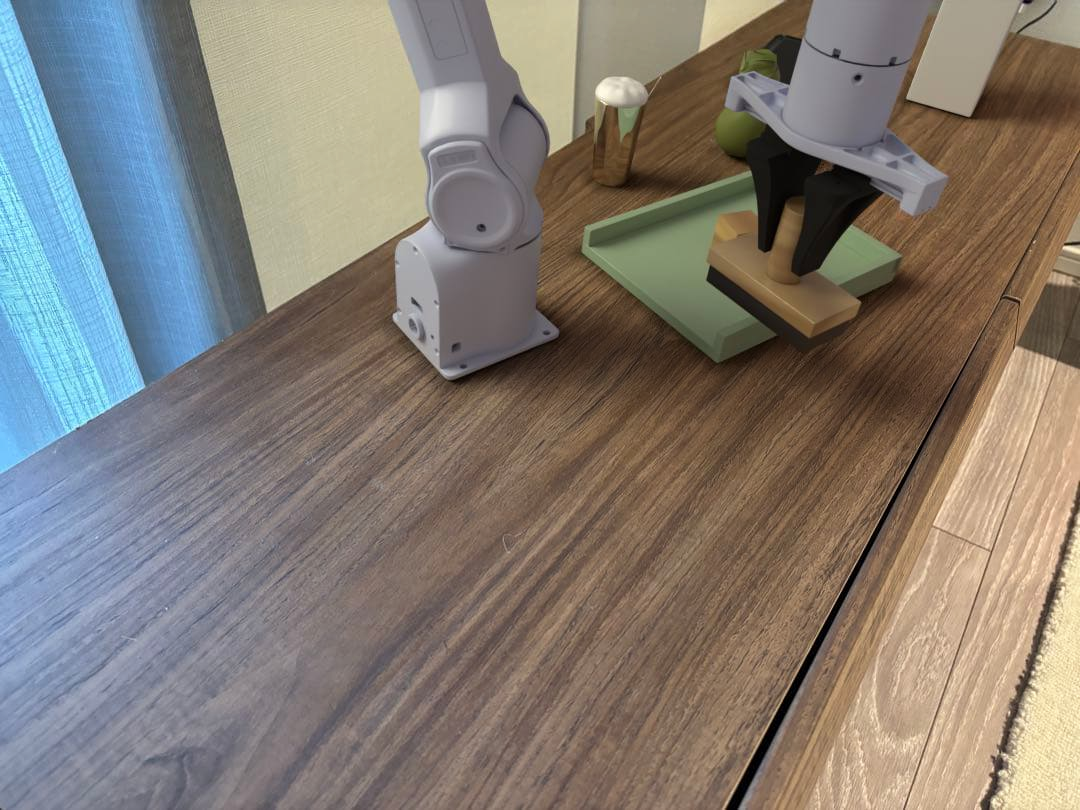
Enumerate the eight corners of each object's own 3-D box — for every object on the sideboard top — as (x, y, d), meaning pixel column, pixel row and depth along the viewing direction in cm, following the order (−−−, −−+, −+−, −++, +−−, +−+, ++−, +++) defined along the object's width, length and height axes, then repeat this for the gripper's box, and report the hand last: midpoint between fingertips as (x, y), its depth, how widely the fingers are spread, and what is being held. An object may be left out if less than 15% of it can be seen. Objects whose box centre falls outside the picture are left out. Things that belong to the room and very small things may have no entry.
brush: (802, 357, 55) (840, 254, 50) (701, 280, 60) (725, 179, 55) (848, 335, 57) (889, 234, 52) (746, 262, 62) (774, 163, 57)
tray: (717, 363, 62) (725, 337, 61) (581, 252, 71) (584, 226, 70) (892, 281, 72) (903, 255, 70) (752, 191, 81) (759, 167, 79)
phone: (840, 49, 104) (803, 92, 94) (837, 58, 105) (800, 102, 95) (777, 32, 107) (735, 72, 97) (775, 41, 107) (732, 82, 97)
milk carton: (969, 119, 96) (1053, -72, 82) (904, 100, 98) (976, -88, 85) (980, 96, 100) (1061, -88, 87) (918, 79, 102) (988, -103, 89)
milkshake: (640, 195, 79) (658, 87, 72) (581, 185, 79) (594, 77, 72) (645, 171, 82) (664, 66, 75) (589, 162, 82) (602, 56, 75)
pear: (761, 171, 83) (790, 68, 76) (706, 160, 84) (729, 57, 77) (766, 146, 87) (794, 45, 80) (714, 135, 88) (737, 35, 81)
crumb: (728, 266, 70) (737, 234, 68) (710, 246, 72) (718, 214, 70) (760, 261, 71) (770, 229, 68) (742, 241, 73) (750, 209, 70)
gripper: (1020, 83, 44) (920, 299, 54) (806, -11, 52) (752, 190, 62) (935, 112, 41) (844, 336, 50) (721, 6, 49) (678, 216, 59)
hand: (788, 258), depth 56 cm, fingers closed on brush, 2 cm apart
